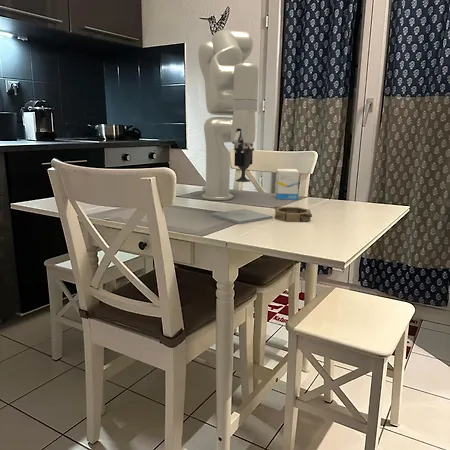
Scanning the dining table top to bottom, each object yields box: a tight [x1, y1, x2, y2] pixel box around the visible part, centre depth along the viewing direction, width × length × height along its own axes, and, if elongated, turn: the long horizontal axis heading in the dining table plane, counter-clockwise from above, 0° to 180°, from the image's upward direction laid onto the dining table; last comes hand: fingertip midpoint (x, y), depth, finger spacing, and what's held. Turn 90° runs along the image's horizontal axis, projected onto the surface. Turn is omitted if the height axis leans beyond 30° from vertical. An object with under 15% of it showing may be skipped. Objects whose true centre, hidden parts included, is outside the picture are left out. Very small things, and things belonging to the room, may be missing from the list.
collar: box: [274, 206, 313, 223], centre depth 141 cm, size 15×11×2 cm
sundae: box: [233, 142, 255, 183], centre depth 136 cm, size 7×7×15 cm
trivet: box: [211, 208, 274, 225], centre depth 141 cm, size 14×14×1 cm
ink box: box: [274, 168, 300, 201], centre depth 177 cm, size 9×8×12 cm
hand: (243, 164), depth 137 cm, fingers closed on sundae, 6 cm apart
